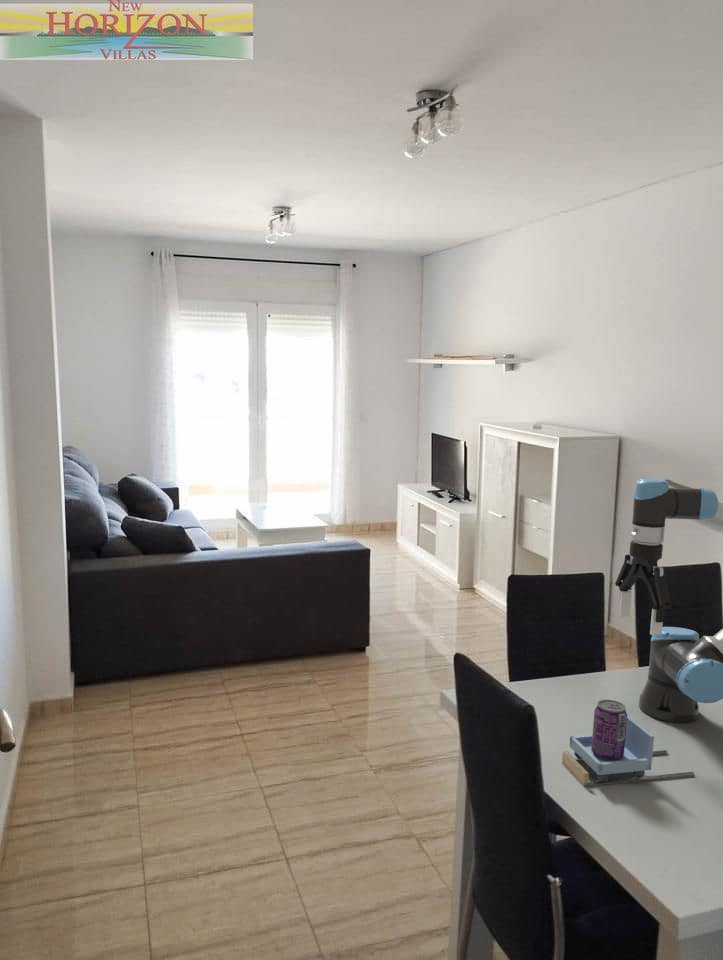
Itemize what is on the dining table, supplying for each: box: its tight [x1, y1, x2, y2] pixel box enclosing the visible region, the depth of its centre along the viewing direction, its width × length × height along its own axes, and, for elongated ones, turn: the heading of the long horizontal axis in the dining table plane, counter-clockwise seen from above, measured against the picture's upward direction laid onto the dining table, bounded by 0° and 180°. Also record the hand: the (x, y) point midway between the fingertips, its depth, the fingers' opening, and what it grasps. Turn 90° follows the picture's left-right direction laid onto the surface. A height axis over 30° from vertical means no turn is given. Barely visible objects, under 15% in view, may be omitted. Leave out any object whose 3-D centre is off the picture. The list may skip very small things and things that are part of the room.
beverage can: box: [591, 699, 628, 760], centre depth 172 cm, size 7×7×12 cm
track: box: [561, 749, 695, 788], centre depth 175 cm, size 28×11×3 cm, turn 103°
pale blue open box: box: [569, 714, 655, 782], centre depth 173 cm, size 13×13×10 cm
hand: (639, 624), depth 189 cm, fingers open, 13 cm apart
